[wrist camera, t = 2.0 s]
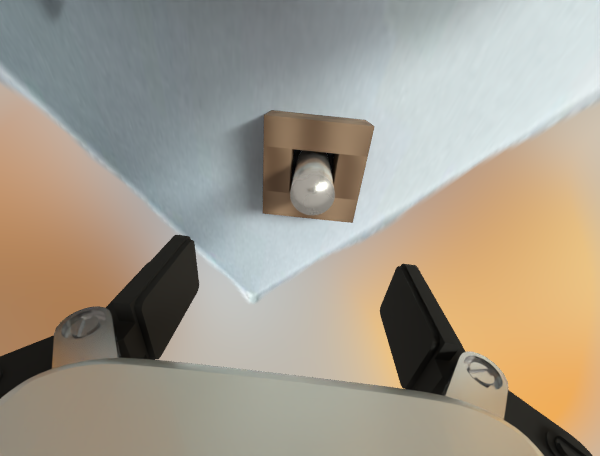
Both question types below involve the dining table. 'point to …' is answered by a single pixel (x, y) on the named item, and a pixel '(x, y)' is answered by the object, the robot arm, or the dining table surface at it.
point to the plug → (312, 183)
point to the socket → (322, 138)
